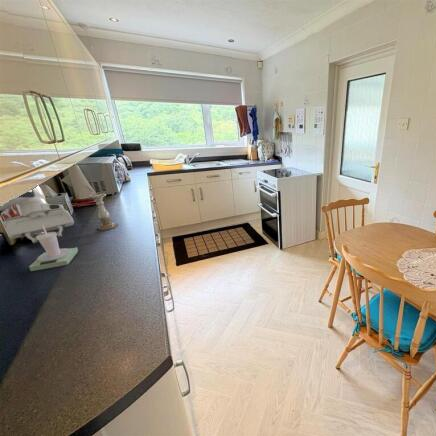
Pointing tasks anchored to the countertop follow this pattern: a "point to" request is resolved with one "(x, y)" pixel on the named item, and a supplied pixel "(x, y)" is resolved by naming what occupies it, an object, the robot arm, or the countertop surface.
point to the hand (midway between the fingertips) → (48, 239)
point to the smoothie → (49, 242)
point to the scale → (54, 259)
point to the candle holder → (103, 212)
